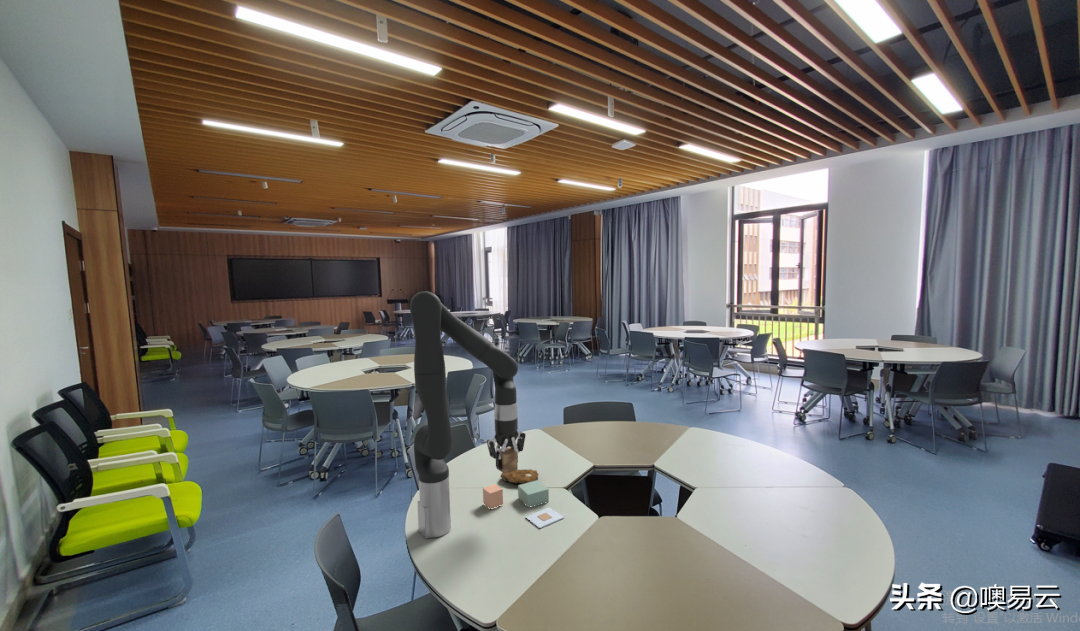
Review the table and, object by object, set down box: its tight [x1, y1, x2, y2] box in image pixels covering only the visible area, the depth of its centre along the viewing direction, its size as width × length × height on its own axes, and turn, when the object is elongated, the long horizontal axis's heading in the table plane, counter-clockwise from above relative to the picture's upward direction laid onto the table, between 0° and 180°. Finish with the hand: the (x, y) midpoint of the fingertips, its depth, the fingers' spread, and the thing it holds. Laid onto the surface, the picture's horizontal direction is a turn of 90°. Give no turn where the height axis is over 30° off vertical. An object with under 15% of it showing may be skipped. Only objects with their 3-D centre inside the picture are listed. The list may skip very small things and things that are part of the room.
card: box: [524, 506, 565, 529], centre depth 143 cm, size 10×8×1 cm
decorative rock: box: [500, 468, 539, 485], centre depth 170 cm, size 11×4×15 cm
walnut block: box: [496, 447, 519, 474], centre depth 143 cm, size 5×5×6 cm
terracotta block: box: [482, 483, 504, 510], centre depth 152 cm, size 5×5×6 cm
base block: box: [517, 479, 550, 508], centre depth 155 cm, size 8×8×5 cm
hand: (507, 466), depth 143 cm, fingers closed on walnut block, 5 cm apart
